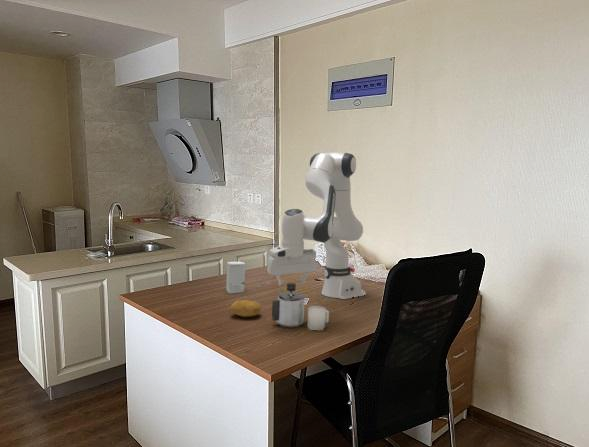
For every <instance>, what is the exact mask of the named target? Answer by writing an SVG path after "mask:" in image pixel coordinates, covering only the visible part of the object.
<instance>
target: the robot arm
mask: <svg viewBox="0 0 589 447" xmlns="http://www.w3.org/2000/svg"><path fill="white" fill-rule="evenodd" d="M356 168H357V159H356V157H355V155H353V154H352V153H349V152H345V153H343V152H335V151H334V152H319V153H315V154H313V155H312V156H311V157H310V160H309V169H308V171H307V174H306V177H305V186H306V189H307V190H308V191H309V192H310V194H312V195H314V196H315V197H317V198H320V199H322V200H323V206H322V215H321V216H308V215H304V211H303V210H302V209H299V208H292V209H287V210H286V211H284V213H283V218H282V224H281V225H282V226H281V234H282V240H281V245H278V246H275V247H273V248H270V250H269V254H270V255H269V257H268V258H267V268H266V271H267V273H268V274H269V275H270V276H275V278H276V279H277V280H278V283H277V284H278V285H279V286H283V285H284V280H282V279H281V277H282V275H289V274H290V275H291V274H303V275H302V276H301V278H299V282H300V283H301V284H305V283H306V279H307V277H308V276H309V273H314V272H316V270H317V261H316V260H317V252H316V250H314V249H313V248H310V249H306V248H305V243H304V242H305V241H304V240H306V241H314V242H318V243H323V245H324V248H325V266H324V282H323V285H322V286H323V287H322V290H321V295H322V296H325V297H328V298H334V299H341V300H347V299H352V297H354V298H357V297H358V296H359V297H363V296H364V295H365V296H366V295H367V293H366V291H365V290H364V289H362V284H361V281H360V280H359V279H357V278H356V276H354V275H352V274H351V273H355V271H356V270H355V268H353V267H349V251H348V250H347V249H348V248H346V247H344V245H343V244H342V242H341V241H347V242H354V241H358V240H360V239H361V237H362V236H363V233H364V227H363V224H362V222H361V221H360V220H359V219H358V218H357V217H356V215H355V214H354V211H353V208H352V203H351V202H352V201H351V189H352V188H351V185H352V184H351V176H353V175H354V173H355V171H356ZM304 248H305V249H304ZM359 297H358V298H359Z"/></svg>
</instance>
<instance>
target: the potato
mask: <svg viewBox="0 0 589 447" xmlns="http://www.w3.org/2000/svg"><path fill="white" fill-rule="evenodd" d="M230 310H231V312H232V313H234V314H235V315H237V316H239V317H242V318H251V317H255V316H257V315H258V314H260V313H261V310H262V305H261V304H260V303H259V302H258V301H254V300H249V299H246V300H245V299H244V300H241V299H240V300H239V299H238V300H236V301H234V302H233V303H231V305H230Z"/></svg>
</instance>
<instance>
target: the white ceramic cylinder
mask: <svg viewBox="0 0 589 447" xmlns="http://www.w3.org/2000/svg"><path fill="white" fill-rule="evenodd" d="M329 319H330V311H329V310H328V309H326V307H325V306H322V305H311V306H308V307H307V324H306V325H307V326H306V327H308V328H309V329H311V330H310V331H312V330H322V331H324V330H325V329H326V323H329ZM308 328H307V329H308ZM324 328H325V329H324ZM309 329H308V330H309ZM323 329H324V330H323Z"/></svg>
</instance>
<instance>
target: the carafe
mask: <svg viewBox="0 0 589 447" xmlns="http://www.w3.org/2000/svg"><path fill="white" fill-rule="evenodd" d="M290 300H292V301H290ZM271 303H272V306H271V307H272V310H271V311H272V312H271V320H272V322H274V321H275V322H276V324H277V325H278V326H279V325H280V326H279V327H282V326H283V327H282V328H286V327H296V328H298V327H297V326H300V325H302V324H304V317H305V316H304V315H305V296H304V295H303V294H301V293H299V292H298V291H297V290H295V291H292V296H290V291H285V292H278V293H277V298H276V299H275V300H272V302H271ZM302 326H303V325H302ZM300 327H301V326H300Z"/></svg>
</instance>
